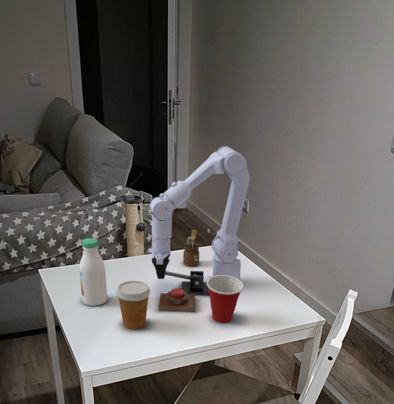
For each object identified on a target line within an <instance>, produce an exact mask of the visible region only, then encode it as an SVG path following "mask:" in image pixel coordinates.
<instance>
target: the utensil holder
mask: <svg viewBox="0 0 394 404" xmlns="http://www.w3.org/2000/svg"><path fill="white" fill-rule="evenodd" d="M196 236H197V230H196V229H192V230H191V235H190V236H189V237H188V239H190V240H188V241H186V242H187V243H186V244H185V245H184V250H183V254H182V255H183V257H182V263H183V265H184V266H185V267H197V266H198V265H199V263H200V251H199V250H200V248H199V245H198V244H196V243H194V242H195V239H196V238H197V237H196ZM191 241H192V242H191Z"/></svg>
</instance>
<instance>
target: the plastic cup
mask: <svg viewBox="0 0 394 404" xmlns="http://www.w3.org/2000/svg"><path fill="white" fill-rule="evenodd" d="M212 276H213V275H212ZM212 276H210V277H208V279H207V280H206V282H207V286H208V289H209V294H210V296H209V303H210V309H211V316H212V319H213V321H214V322H217V323H221V324H227V323H230V322H231V321H232V320H233V317H234V313H235V311H236V308H237V303H238V300H239V298H240V297H239V296H240V294H241V292H242V291H243V290H244V287H245V286H244V283H243V281H242V280H241V279H240V280H239V279H237V278H235V277H232V276H228V275H216V276H213V277H212Z"/></svg>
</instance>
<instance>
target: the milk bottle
mask: <svg viewBox="0 0 394 404" xmlns="http://www.w3.org/2000/svg"><path fill="white" fill-rule="evenodd" d="M81 243H82V249H83V252H82V257H81V258H80V262H79V279H80V289H81V290H80V292H81V301H82V302H83V304H85V305H87V306H91V307H93V306H96V307H97V306H101V305H104V304H105V303H106V302H107V301H108V287H107V275H106V274H107V273H106V266H105V262H104V259H103V258H102V256H101V254H100V252H99V240H98V239H97V238H94V237H88V238H84V239H83V240H82V242H81Z"/></svg>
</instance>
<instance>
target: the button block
mask: <svg viewBox="0 0 394 404" xmlns="http://www.w3.org/2000/svg"><path fill="white" fill-rule="evenodd" d="M195 310H196V295H195V294H188V293H187V292H185V291H184V297H183V298H173V297H171V290H169V291H168V292H166V293H165V292H160V296H159V302H158V312H177V313H195Z"/></svg>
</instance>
